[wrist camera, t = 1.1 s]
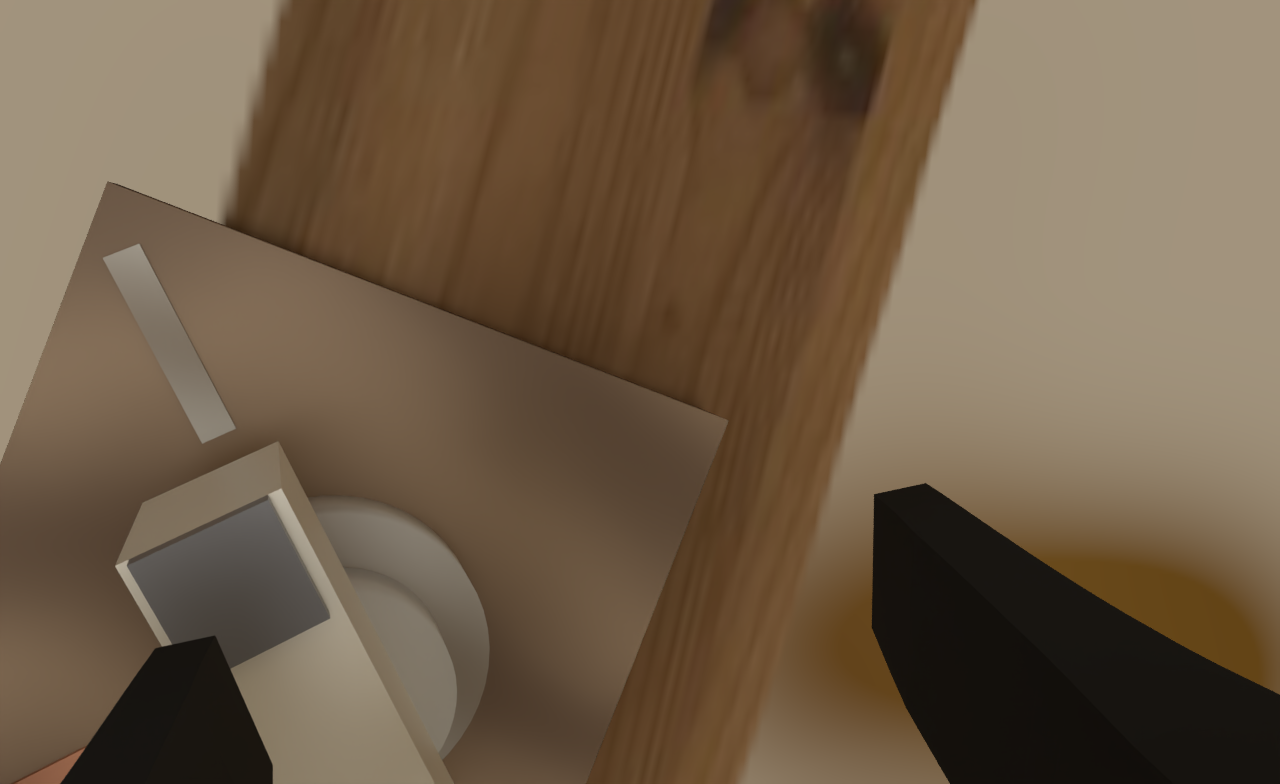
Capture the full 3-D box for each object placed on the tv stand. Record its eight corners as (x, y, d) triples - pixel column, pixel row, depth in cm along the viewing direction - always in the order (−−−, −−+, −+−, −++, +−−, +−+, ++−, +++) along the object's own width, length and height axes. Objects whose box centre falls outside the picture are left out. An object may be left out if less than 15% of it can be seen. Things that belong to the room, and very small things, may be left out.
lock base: (488, 958, 26) (514, 1045, 24) (-142, 868, 21) (-204, 966, 18) (703, 409, 26) (756, 432, 23) (118, 184, 21) (95, 178, 18)
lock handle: (529, 813, 23) (604, 977, 18) (338, 924, 21) (360, 1132, 17) (327, 403, 20) (348, 461, 15) (97, 506, 19) (36, 607, 14)
